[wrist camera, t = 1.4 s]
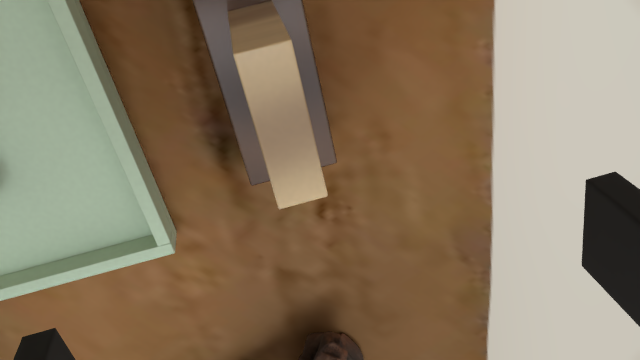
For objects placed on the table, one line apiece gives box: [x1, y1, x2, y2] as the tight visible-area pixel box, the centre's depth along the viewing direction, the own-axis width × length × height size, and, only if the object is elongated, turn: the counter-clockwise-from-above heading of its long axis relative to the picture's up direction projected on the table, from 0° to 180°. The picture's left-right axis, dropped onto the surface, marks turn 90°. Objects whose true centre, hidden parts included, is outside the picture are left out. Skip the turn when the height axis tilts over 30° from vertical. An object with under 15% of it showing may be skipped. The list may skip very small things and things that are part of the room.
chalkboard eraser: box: [192, 0, 337, 209], centre depth 26 cm, size 12×5×10 cm, turn 12°
